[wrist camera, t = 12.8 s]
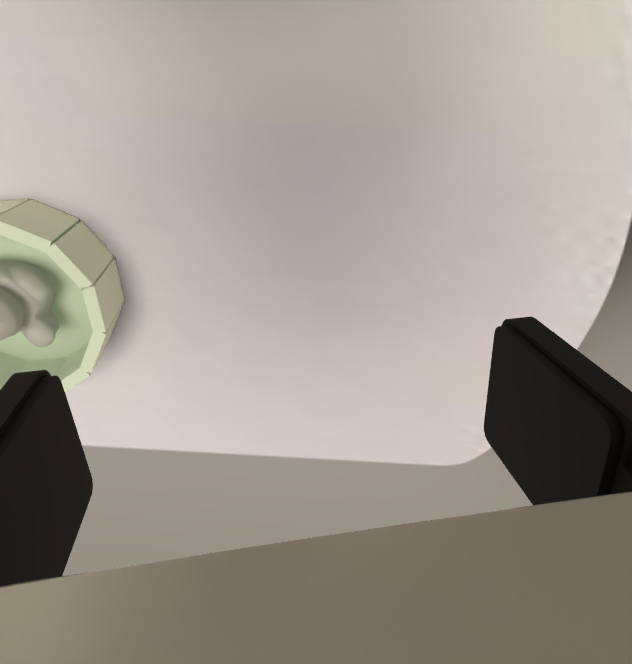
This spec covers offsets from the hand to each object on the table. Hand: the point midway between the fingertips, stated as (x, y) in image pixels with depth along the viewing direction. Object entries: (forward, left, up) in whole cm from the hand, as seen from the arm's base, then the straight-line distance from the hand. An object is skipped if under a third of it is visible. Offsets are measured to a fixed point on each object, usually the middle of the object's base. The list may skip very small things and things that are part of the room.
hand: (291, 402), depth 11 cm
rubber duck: (+6, -17, -28) cm, 33 cm away
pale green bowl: (+6, -17, -28) cm, 34 cm away
